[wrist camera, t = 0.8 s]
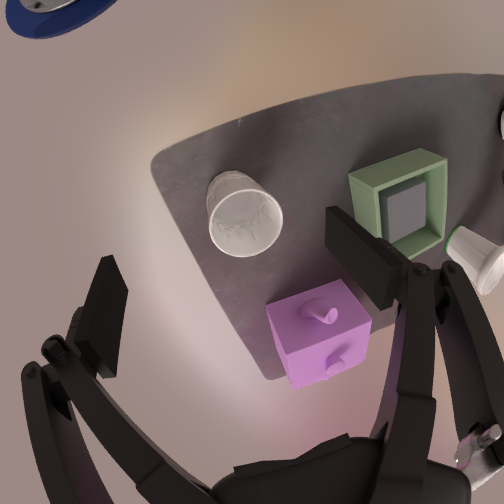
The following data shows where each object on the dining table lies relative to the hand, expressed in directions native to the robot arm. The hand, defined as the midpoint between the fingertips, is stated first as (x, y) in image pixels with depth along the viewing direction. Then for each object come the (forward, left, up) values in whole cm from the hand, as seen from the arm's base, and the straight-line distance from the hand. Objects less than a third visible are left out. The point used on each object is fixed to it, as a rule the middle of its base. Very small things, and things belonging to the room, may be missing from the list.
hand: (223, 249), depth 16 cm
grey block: (+17, +28, -21) cm, 39 cm away
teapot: (+33, +7, -22) cm, 41 cm away
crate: (+17, +28, -22) cm, 40 cm away
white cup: (+5, +2, -22) cm, 23 cm away
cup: (+36, +50, -22) cm, 66 cm away
